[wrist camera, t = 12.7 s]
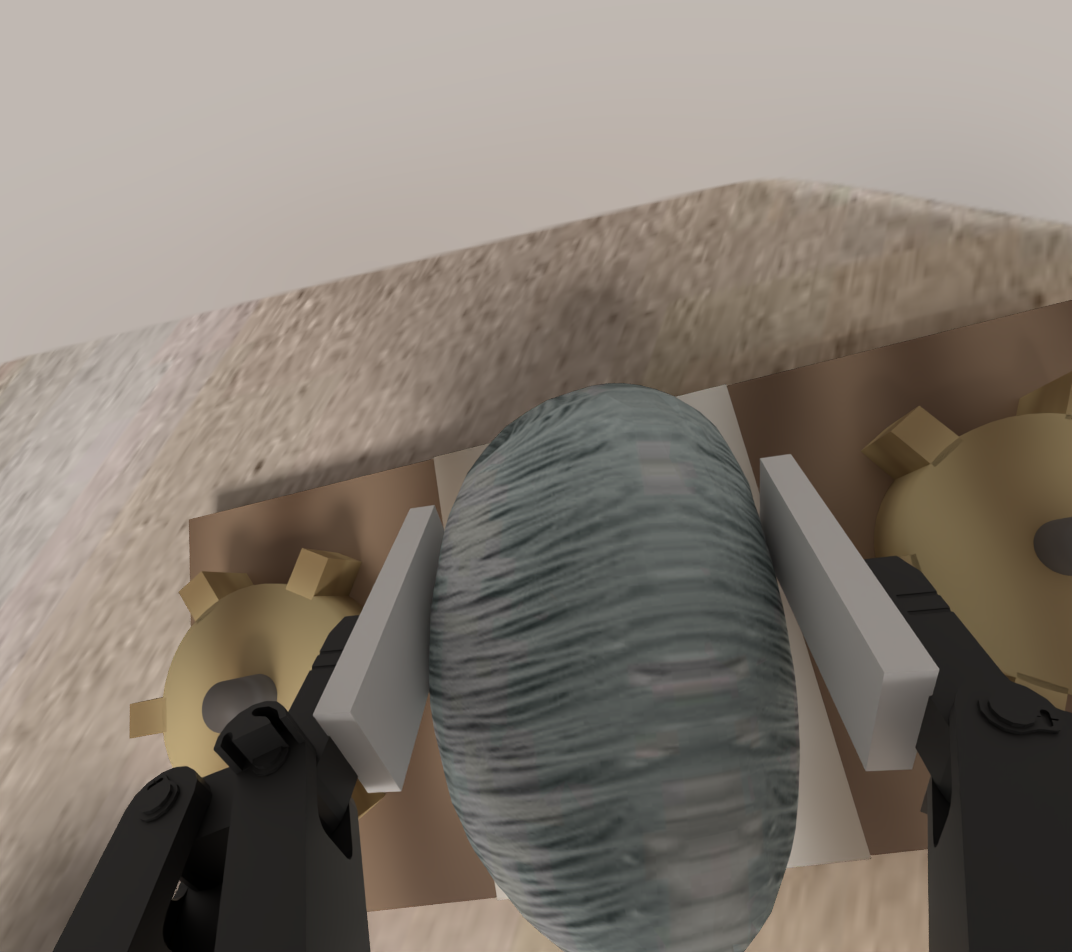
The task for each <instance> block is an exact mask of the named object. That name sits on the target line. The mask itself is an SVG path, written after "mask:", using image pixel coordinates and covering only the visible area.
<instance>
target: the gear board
mask: <svg viewBox="0 0 1072 952" xmlns="http://www.w3.org/2000/svg"><path fill="white" fill-rule="evenodd" d="M676 398H678V399H680V400H681V401H683V402H685V403H686V404H688V405H690V406H691V407H693V408H695V409H696V410H698V411H700V412H701V413H702V414H703V415H704V416H705V417H706V418H707V419H708V420H710V421H711V422H712V423H713V424H714V425H715V426H716V427H717V429H718V430H719V432H720V433H721V435H722V436H723V438H724V439H725V441H726V443H727V444H728V446H729V447H730V449H731V451H732V453H733V455H734V456H735V458H736V460H737V462H738V463H739V465H740V467H741V469H742V471H743V473H744V475H745V477H746V478H747V480H748V482H749V485H750V489H751V492H752V496H753V500H754V503H755V506H756V509H757V512H758V514H759V517H760V458H766V457H773V456H780V455H787V454H791V455H792V456H793V458H794V459H795V461H796V462H797V464H798V465H799V467H800V468H801V469H802V471H803V472H804V474H805V475H806V477H807V478H808V480H809V481H810V482H811V484H812V485H813V487H814V488H815V490H816V491H817V493H818V494H819V496H820V497H821V498H822V500H823V501H824V503H825V504H826V506H827V507H828V509H829V510H830V511H831V513H832V514H833V516H834V517H835V519H836V520H837V522H838V523H839V524H840V526H841V527H842V529H843V530H844V532H845V533H846V535H847V536H848V538H849V539H850V540H851V542H852V543H853V545H854V546H855V548H856V549H857V551H858V552H859V553H860V555H861V556H862V558H863V559H870V558H879V557H889V556H898V557H899V558H901V559H902V560H904V561H906V562H907V563H909V564H910V565H912V566H913V567H915V568H916V569H918V570H920V571H921V572H922V573H923V574H924V576H925V577H926V578H927V579H928V581H929V582H930V583H931V584H932V586H933V587H934V588H935V589H936V591H937V594H938V595H940V596H941V597H942V598H943V599H944V601H945V602H946V603H947V604H948V605H949V607H950V610H951V612H954V613H955V614H956V615H957V617H958V618H959V619H960V620H961V622H962V623H963V624H964V625H965V627H966V628H967V629H968V630H969V631H970V633H971V634H972V635H973V636H974V638H975V639H976V640H977V641H978V643H979V644H980V645H981V646H982V648H983V649H984V650H985V651H986V653H987V654H988V655H989V656H990V658H991V659H992V660H993V661H994V662H995V664H996V665H997V666H998V667H999V669H1000V670H1001V671H1002V672H1003V674H1004V675H1005V676H1006V677H1007V678H1008V679H1009V680H1010V681H1012V682H1015V683H1018V684H1020V685H1023V686H1026V687H1028V688H1030V689H1031V690H1033V691H1035V692H1036V693H1038V694H1040V695H1041V696H1043V697H1045V698H1046V699H1048V700H1049V701H1050V702H1051V703H1052V704H1053V705H1054V706H1055V707H1056V708H1058V709H1061V710H1064V711H1068V712H1071V713H1072V300H1069V301H1065V302H1061V303H1057V304H1053V305H1049V306H1045V307H1041V308H1037V309H1033V310H1029V311H1025V312H1021V313H1017V314H1013V315H1009V316H1005V317H1001V318H997V319H993V320H989V321H985V322H981V323H977V324H973V325H969V326H965V327H961V328H957V329H953V330H949V331H945V332H941V333H937V334H933V335H929V336H925V337H921V338H917V339H913V340H909V341H905V342H901V343H897V344H893V345H889V346H885V347H881V348H877V349H872V350H868V351H864V352H860V353H856V354H852V355H848V356H844V357H840V358H836V359H832V360H828V361H824V362H820V363H816V364H812V365H808V366H804V367H800V368H796V369H792V370H788V371H784V372H780V373H776V374H772V375H768V376H764V377H760V378H756V379H752V380H748V381H744V382H740V383H736V384H732V385H728V386H726V384H725V385H721V386H717V387H713V388H709V389H705V390H701V391H697V392H693V393H689V394H685V395H681V396H677V397H676ZM489 444H490V443H488V444H484V445H480V446H476V447H472V448H468V449H464V450H460V451H456V452H452V453H448V454H444V455H440V456H436V457H433V458H434V459H431V460H427V461H423V462H419V463H415V464H410V465H406V466H402V467H398V468H394V469H390V470H386V471H382V472H378V473H374V474H370V475H366V476H362V477H358V478H354V479H350V480H346V481H342V482H338V483H334V484H330V485H326V486H322V487H318V488H314V489H310V490H306V491H302V492H298V493H294V494H290V495H286V496H282V497H278V498H274V499H270V500H266V501H262V502H258V503H254V504H250V505H246V506H242V507H238V508H234V509H230V510H226V511H222V512H218V513H214V514H210V515H206V516H202V517H198V518H194V519H190V520H189V544H190V582H189V583H188V584H187V585H186V586H185V587H184V588H182V589H181V590H180V591H179V594H180V595H181V597H182V599H183V601H184V602H185V604H186V606H187V608H188V609H189V611H190V613H191V628H190V629H189V630H188V632H187V633H186V635H185V637H184V638H183V640H182V641H181V643H180V645H179V647H178V649H177V651H176V653H175V655H174V657H173V660H172V663H171V666H170V668H169V671H168V675H167V679H166V683H165V688H164V694H163V697H161V698H156V699H152V700H147V701H142V702H138V703H133V704H130V738H135V737H141V736H146V735H152V734H158V733H163V735H164V741H165V746H166V749H167V753H168V756H169V760H170V762H171V764H172V767H173V768H174V767H181V766H188V767H190V768H192V769H193V770H195V771H196V772H197V773H198V774H199V775H200V776H201V777H204V776H207V775H210V774H212V773H215V772H217V771H220V770H223V769H225V768H228V767H229V766H228V765H227V764H226V763H225V762H224V761H223V760H222V759H221V757H220V756H219V755H218V754H217V753H216V752H215V751H214V750H213V749H214V746H215V743H216V741H217V738H218V736H219V735H220V733H221V732H222V731H223V729H224V728H225V726H226V725H227V724H228V723H229V722H230V721H231V720H232V719H233V718H234V717H236V716H237V715H238V714H239V713H240V712H242V711H243V710H245V709H247V708H249V707H250V706H252V705H254V704H257V703H260V702H264V701H277V702H279V703H280V704H281V705H283V706H284V707H285V708H286V710H287V711H289V709H290V707H291V705H292V703H293V701H294V700H295V698H296V696H297V694H298V692H299V690H300V688H301V686H302V684H303V682H304V680H305V678H306V676H307V675H308V673H309V671H310V670H312V665H313V663H314V661H315V659H316V657H317V655H319V654H320V652H319V651H320V649H321V648H322V646H323V644H324V642H325V640H326V638H327V636H328V634H329V633H330V632H331V631H332V629H333V628H334V627H335V626H336V625H337V624H338V623H339V622H340V621H341V620H342V619H343V618H344V617H345V616H354V615H360V614H361V611H362V609H363V607H364V605H365V603H366V601H367V599H368V597H369V595H370V592H371V590H372V588H373V586H374V584H375V582H376V580H377V578H378V575H379V573H380V571H381V569H382V567H383V565H384V563H385V561H386V559H387V556H388V554H389V552H390V550H391V548H392V546H393V544H394V542H395V540H396V537H397V535H398V533H399V531H400V529H401V527H402V525H403V523H404V521H405V518H406V516H407V514H408V512H409V510H410V509H411V508H418V507H425V506H432V505H435V507H436V510H437V513H438V515H439V518H440V520H441V523H442V526H443V528H444V530H445V527H446V523H447V520H448V516H449V514H450V511H451V509H452V507H453V504H454V502H455V500H456V498H457V495H458V493H459V491H460V489H461V486H462V484H463V482H464V479H465V477H466V475H467V473H468V471H469V470H470V469H471V467H472V466H473V464H474V463H475V462H476V460H477V459H478V458H479V456H480V455H481V454H482V453H483V451H484V450H485V449H486V447H487V446H488V445H489ZM776 579H777V577H776ZM777 583H778V587H779V591H780V596H781V600H782V604H783V608H784V613H785V618H786V624H787V630H788V636H789V642H790V648H791V654H792V660H793V666H794V672H795V680H796V690H797V701H798V717H799V738H800V769H799V797H798V810H797V821H796V830H795V835H794V840H793V846H792V850H791V854H790V857H789V861H788V864H787V867H786V868H793V867H802V866H811V865H820V864H829V863H838V862H847V861H856V860H865V859H871V856H870V855H879V854H888V853H897V852H905V851H914V850H923V849H928V816H927V814H925V813H923V812H920V810H921V806H922V803H923V799H924V796H925V793H926V789H927V786H928V783H929V780H930V776H931V775H930V773H929V771H928V769H927V768H926V766H925V764H924V762H923V760H922V759H921V757H920V755H919V753H918V751H917V753H916V757H915V761H914V764H913V768H912V769H908V770H884V771H865V769H864V767H863V764H862V762H861V760H860V758H859V756H858V753H857V751H856V749H855V747H854V745H853V743H852V740H851V738H850V736H849V734H848V732H847V729H846V727H845V725H844V723H843V721H842V719H841V716H840V714H839V712H838V710H837V708H836V705H835V703H834V701H833V699H832V697H831V695H830V692H829V690H828V688H827V686H826V684H825V681H824V679H823V677H822V675H821V673H820V671H819V668H818V666H817V664H816V662H815V660H814V657H813V655H812V653H811V651H810V649H809V647H808V644H807V642H806V640H805V638H804V636H803V633H802V631H801V629H800V627H799V625H798V623H797V620H796V618H795V616H794V614H793V612H792V609H791V607H790V605H789V603H788V601H787V599H786V596H785V594H784V592H783V590H782V588H781V585H780V583H779V581H778V579H777ZM351 797H352V798H353V800H354V801H355V804H356V807H357V810H358V821H359V832H360V843H361V854H362V865H363V876H364V887H365V898H366V909H367V912H371V911H380V910H388V909H397V908H406V907H415V906H424V905H433V904H442V903H451V902H460V901H469V900H478V899H486V898H495V897H497V900H505V899H509V898H508V897H507V895H506V894H505V893H504V892H503V891H502V890H501V889H500V887H499V886H498V885H497V884H496V883H495V881H494V880H493V878H492V876H491V875H490V873H489V872H488V870H487V869H486V867H485V866H484V864H483V863H482V861H481V860H480V859H479V857H478V856H477V854H476V853H475V851H474V849H473V848H472V846H471V844H470V842H469V840H468V839H467V836H466V833H465V831H464V828H463V826H462V823H461V821H460V819H459V817H458V814H457V812H456V810H455V808H454V806H453V804H452V801H451V797H450V794H449V790H448V786H447V782H446V778H445V774H444V770H443V765H442V761H441V757H440V753H439V748H438V744H437V740H436V735H435V731H434V725H433V719H432V713H431V706H430V694H428V697H427V701H426V704H425V708H424V712H423V715H422V719H421V722H420V726H419V730H418V733H417V737H416V740H415V744H414V748H413V751H412V755H411V758H410V762H409V766H408V769H407V773H406V776H405V780H404V784H403V787H402V791H398V792H375V793H368V792H367V791H366V789H365V788H364V786H363V785H362V784H361V782H360V781H359V779H357V781H356V784H355V787H354V790H353V793H352V796H351Z"/></svg>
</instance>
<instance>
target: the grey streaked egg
mask: <svg viewBox="0 0 1072 952" xmlns="http://www.w3.org/2000/svg"><path fill="white" fill-rule="evenodd" d="M429 694H430V706H431V713H432V719H433V725H434V731H435V735H436V740H437V744H438V748H439V753H440V757H441V761H442V765H443V770H444V774H445V778H446V782H447V786H448V790H449V794H450V797H451V801H452V804H453V806H454V808H455V810H456V812H457V814H458V817H459V819H460V821H461V823H462V826H463V828H464V831H465V833H466V836H467V839H468V840H469V842H470V844H471V846H472V848H473V849H474V851H475V853H476V854H477V856H478V857H479V859H480V860H481V861H482V863H483V864H484V866H485V867H486V869H487V870H488V872H489V873H490V875H491V876H492V878H493V880H494V881H495V883H496V884H497V885H498V886H499V887H500V889H501V890H502V891H503V892H504V893H505V894H506V895H507V897H508V898H509V899H510V900H511V902H512V903H513V904H514V905H515V907H516V908H517V909H518V910H519V912H520V913H521V914H522V915H523V917H524V918H525V919H526V920H527V921H528V922H530V923H531V924H532V925H533V926H534V927H535V928H536V929H537V930H538V931H539V932H541V933H542V934H543V935H544V936H546V937H547V938H548V939H549V940H550V941H552V942H553V943H554V944H555V945H556V946H558V947H559V948H560V949H561V950H563V951H564V952H744V951H745V950H746V948H747V947H748V946H749V944H750V943H751V942H752V940H753V939H754V938H755V936H756V935H757V934H758V933H759V931H760V929H761V928H762V926H763V925H764V923H765V922H766V920H767V918H768V917H769V915H770V914H771V912H772V909H773V906H774V903H775V900H776V897H777V894H778V891H779V888H780V885H781V882H782V879H783V876H784V873H785V870H786V867H787V864H788V861H789V857H790V854H791V850H792V846H793V840H794V835H795V830H796V821H797V810H798V797H799V769H800V738H799V717H798V701H797V690H796V680H795V672H794V666H793V660H792V654H791V648H790V642H789V636H788V630H787V624H786V618H785V613H784V608H783V604H782V600H781V596H780V591H779V587H778V583H777V579H776V574H775V570H774V566H773V563H772V559H771V555H770V552H769V548H768V544H767V541H766V537H765V534H764V530H763V527H762V523H761V520H760V517H759V514H758V512H757V509H756V506H755V503H754V500H753V496H752V492H751V489H750V485H749V482H748V480H747V478H746V477H745V475H744V473H743V471H742V469H741V467H740V465H739V463H738V462H737V460H736V458H735V456H734V455H733V453H732V451H731V449H730V447H729V446H728V444H727V443H726V441H725V439H724V438H723V436H722V435H721V433H720V432H719V430H718V429H717V427H716V426H715V425H714V424H713V423H712V422H711V421H710V420H708V419H707V418H706V417H705V416H704V415H703V414H702V413H701V412H700V411H698V410H696V409H695V408H693V407H691V406H690V405H688V404H686V403H685V402H683V401H681V400H680V399H678V398H676V397H675V396H673V395H670V394H667V393H664V392H662V391H659V390H656V389H652V388H649V387H645V386H641V385H634V384H625V383H608V384H601V385H594V386H589V387H586V388H583V389H580V390H576V391H573V392H570V393H567V394H564V395H561V396H558V397H555V398H552V399H549V400H547V401H545V402H543V403H542V404H540V405H538V406H536V407H535V408H533V409H531V410H530V411H528V412H526V413H525V414H523V415H522V416H520V417H519V418H518V419H516V420H515V421H513V422H512V423H511V424H509V425H508V426H506V427H505V428H504V429H503V430H502V431H501V432H500V433H499V434H498V436H497V437H496V438H495V439H494V440H493V441H492V442H491V443H490V444H489V445H488V446H487V447H486V449H485V450H484V451H483V453H482V454H481V455H480V456H479V458H478V459H477V460H476V462H475V463H474V464H473V466H472V467H471V469H470V470H469V471H468V473H467V475H466V477H465V479H464V482H463V484H462V486H461V489H460V491H459V493H458V495H457V498H456V500H455V502H454V504H453V507H452V509H451V511H450V514H449V516H448V520H447V523H446V527H445V530H444V535H443V539H442V544H441V548H440V554H439V561H438V568H437V574H436V580H435V585H434V590H433V597H432V604H431V618H430V643H429Z"/></svg>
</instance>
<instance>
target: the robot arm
mask: <svg viewBox="0 0 1072 952" xmlns="http://www.w3.org/2000/svg"><path fill="white" fill-rule="evenodd" d="M760 520H761V523H762V527H763V530H764V534H765V537H766V541H767V544H768V548H769V552H770V555H771V559H772V563H773V566H774V570H775V574H776V577H777V579H778V581H779V583H780V585H781V588H782V590H783V592H784V594H785V596H786V599H787V601H788V603H789V605H790V607H791V609H792V612H793V614H794V616H795V618H796V620H797V623H798V625H799V627H800V629H801V631H802V633H803V636H804V638H805V640H806V642H807V644H808V647H809V649H810V651H811V653H812V655H813V657H814V660H815V662H816V664H817V666H818V668H819V671H820V673H821V675H822V677H823V679H824V681H825V684H826V686H827V688H828V690H829V692H830V695H831V697H832V699H833V701H834V703H835V705H836V708H837V710H838V712H839V714H840V716H841V719H842V721H843V723H844V725H845V727H846V729H847V732H848V734H849V736H850V738H851V740H852V743H853V745H854V747H855V749H856V751H857V753H858V756H859V758H860V760H861V762H862V764H863V767H864V769H865V771H884V770H908V769H912V768H913V764H914V761H915V757H916V753H917V751H918V753H919V755H920V757H921V759H922V760H923V762H924V764H925V766H926V768H927V769H928V771H929V773H930V775H931V776H930V780H929V783H928V786H927V789H926V793H925V796H924V799H923V803H922V806H921V810H920V812H923V813H925V814H927V816H928V900H929V952H1072V713H1071V712H1068V711H1064V710H1061V709H1058V708H1056V707H1055V706H1054V705H1053V704H1052V703H1051V702H1050V701H1049V700H1048V699H1046V698H1045V697H1043V696H1041V695H1040V694H1038V693H1036V692H1035V691H1033V690H1031V689H1030V688H1028V687H1026V686H1023V685H1020V684H1018V683H1015V682H1012V681H1010V680H1009V679H1008V678H1007V677H1006V676H1005V675H1004V674H1003V672H1002V671H1001V670H1000V669H999V667H998V666H997V665H996V664H995V662H994V661H993V660H992V659H991V658H990V656H989V655H988V654H987V653H986V651H985V650H984V649H983V648H982V646H981V645H980V644H979V643H978V641H977V640H976V639H975V638H974V636H973V635H972V634H971V633H970V631H969V630H968V629H967V628H966V627H965V625H964V624H963V623H962V622H961V620H960V619H959V618H958V617H957V615H956V614H955V613H954V612H951V610H950V607H949V605H948V604H947V603H946V602H945V601H944V599H943V598H942V597H941V596H940V595H938V594H937V591H936V589H935V588H934V587H933V586H932V584H931V583H930V582H929V581H928V579H927V578H926V577H925V576H924V574H923V573H922V572H921V571H920V570H918V569H916V568H915V567H913V566H912V565H910V564H909V563H907V562H906V561H904V560H902V559H901V558H899V557H898V556H889V557H879V558H870V559H863V558H862V556H861V555H860V553H859V552H858V551H857V549H856V548H855V546H854V545H853V543H852V542H851V540H850V539H849V538H848V536H847V535H846V533H845V532H844V530H843V529H842V527H841V526H840V524H839V523H838V522H837V520H836V519H835V517H834V516H833V514H832V513H831V511H830V510H829V509H828V507H827V506H826V504H825V503H824V501H823V500H822V498H821V497H820V496H819V494H818V493H817V491H816V490H815V488H814V487H813V485H812V484H811V482H810V481H809V480H808V478H807V477H806V475H805V474H804V472H803V471H802V469H801V468H800V467H799V465H798V464H797V462H796V461H795V459H794V458H793V456H792V455H791V454H787V455H780V456H773V457H766V458H760ZM443 535H444V528H443V526H442V523H441V520H440V518H439V515H438V513H437V510H436V507H435V505H432V506H425V507H418V508H411V509H410V510H409V512H408V514H407V516H406V518H405V521H404V523H403V525H402V527H401V529H400V531H399V533H398V535H397V537H396V540H395V542H394V544H393V546H392V548H391V550H390V552H389V554H388V556H387V559H386V561H385V563H384V565H383V567H382V569H381V571H380V573H379V575H378V578H377V580H376V582H375V584H374V586H373V588H372V590H371V592H370V595H369V597H368V599H367V601H366V603H365V605H364V607H363V609H362V611H361V614H360V615H354V616H345V617H344V618H343V619H342V620H341V621H340V622H339V623H338V624H337V625H336V626H335V627H334V628H333V629H332V631H331V632H330V633H329V634H328V636H327V638H326V640H325V642H324V644H323V646H322V648H321V649H320V651H319V652H320V654H319V655H317V657H316V659H315V661H314V663H313V665H312V670H310V671H309V673H308V675H307V676H306V678H305V680H304V682H303V684H302V686H301V688H300V690H299V692H298V694H297V696H296V698H295V700H294V701H293V703H292V705H291V707H290V709H289V711H287V710H286V708H285V707H284V706H283V705H281V704H280V703H279V702H277V701H264V702H260V703H257V704H254V705H252V706H250V707H249V708H247V709H245V710H243V711H242V712H240V713H239V714H238V715H237V716H236V717H234V718H233V719H232V720H231V721H230V722H229V723H228V724H227V725H226V726H225V728H224V729H223V731H222V732H221V733H220V735H219V736H218V738H217V741H216V743H215V746H214V749H213V750H214V751H215V752H216V753H217V754H218V755H219V756H220V757H221V759H222V760H223V761H224V762H225V763H226V764H227V765H228V766H229V767H228V768H225V769H223V770H220V771H217V772H215V773H212V774H210V775H207V776H204V777H201V776H200V775H199V774H198V773H197V772H196V771H195V770H193V769H192V768H190V767H188V766H181V767H174V768H172V769H170V770H167V771H165V772H163V773H161V774H160V775H158V776H157V777H155V778H154V779H153V780H151V781H150V782H148V783H147V784H146V785H145V786H144V787H143V788H142V789H141V790H140V791H139V792H138V793H137V794H136V795H135V797H134V798H133V800H132V801H131V803H130V804H129V806H128V807H127V809H126V810H125V812H124V814H123V816H122V818H121V820H120V822H119V824H118V826H117V828H116V830H115V832H114V834H113V835H112V837H111V839H110V841H109V843H108V845H107V847H106V849H105V851H104V853H103V855H102V857H101V859H100V861H99V863H98V865H97V867H96V869H95V870H94V872H93V874H92V876H91V878H90V880H89V882H88V884H87V886H86V888H85V890H84V892H83V894H82V896H81V898H80V900H79V902H78V903H77V905H76V907H75V909H74V911H73V913H72V915H71V917H70V919H69V921H68V923H67V925H66V927H65V929H64V931H63V933H62V935H61V937H60V938H59V940H58V942H57V944H56V946H55V948H54V950H53V952H370V942H369V931H368V920H367V909H366V898H365V887H364V876H363V865H362V854H361V843H360V832H359V821H358V810H357V807H356V804H355V801H354V800H353V798H352V797H351V796H352V793H353V790H354V787H355V784H356V781H357V779H359V781H360V782H361V784H362V785H363V786H364V788H365V789H366V791H367V792H368V793H375V792H398V791H402V787H403V784H404V780H405V776H406V773H407V769H408V766H409V762H410V758H411V755H412V751H413V748H414V744H415V740H416V737H417V733H418V730H419V726H420V722H421V719H422V715H423V712H424V708H425V704H426V701H427V697H428V694H429V643H430V618H431V604H432V597H433V590H434V585H435V580H436V574H437V568H438V561H439V554H440V548H441V544H442V539H443ZM179 880H180V881H181V883H180V886H179V888H178V890H177V892H176V894H175V896H174V898H173V899H172V897H173V895H174V892H175V889H176V887H177V884H178V882H179Z"/></svg>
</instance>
